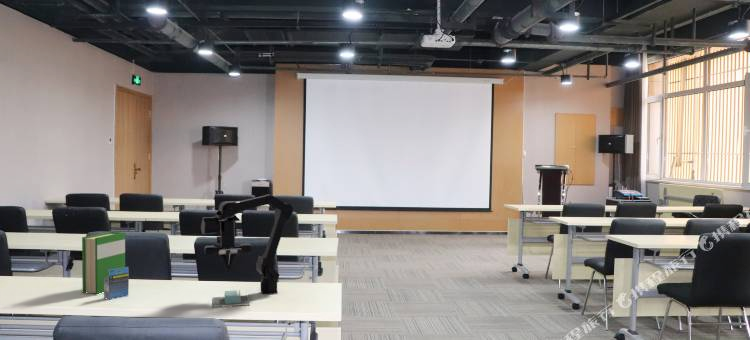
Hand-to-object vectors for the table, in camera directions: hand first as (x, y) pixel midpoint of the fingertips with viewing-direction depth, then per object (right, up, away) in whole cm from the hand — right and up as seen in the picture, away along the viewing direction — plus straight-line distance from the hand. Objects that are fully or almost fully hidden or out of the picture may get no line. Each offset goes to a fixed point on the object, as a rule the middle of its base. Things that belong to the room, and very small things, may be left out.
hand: (228, 269), depth 246 cm
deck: (0, -10, -8) cm, 12 cm away
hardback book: (-57, -11, +12) cm, 59 cm away
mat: (+3, -12, -7) cm, 14 cm away
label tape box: (-46, -12, -1) cm, 47 cm away
